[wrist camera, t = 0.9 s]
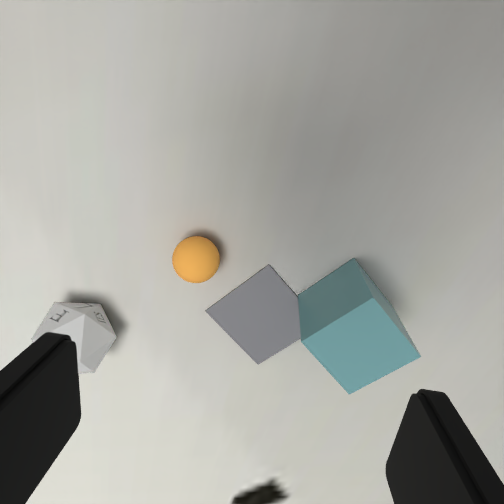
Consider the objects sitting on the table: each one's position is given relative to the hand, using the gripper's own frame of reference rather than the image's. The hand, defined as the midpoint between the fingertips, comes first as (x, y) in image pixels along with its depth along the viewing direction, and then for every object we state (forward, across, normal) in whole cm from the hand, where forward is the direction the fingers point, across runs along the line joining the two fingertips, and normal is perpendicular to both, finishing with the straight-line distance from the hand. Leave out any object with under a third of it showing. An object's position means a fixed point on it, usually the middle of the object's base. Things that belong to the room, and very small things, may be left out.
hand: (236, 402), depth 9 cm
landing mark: (+28, -1, +14) cm, 32 cm away
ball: (+26, +7, +7) cm, 27 cm away
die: (+29, +20, +18) cm, 40 cm away
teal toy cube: (+28, -10, +10) cm, 32 cm away
